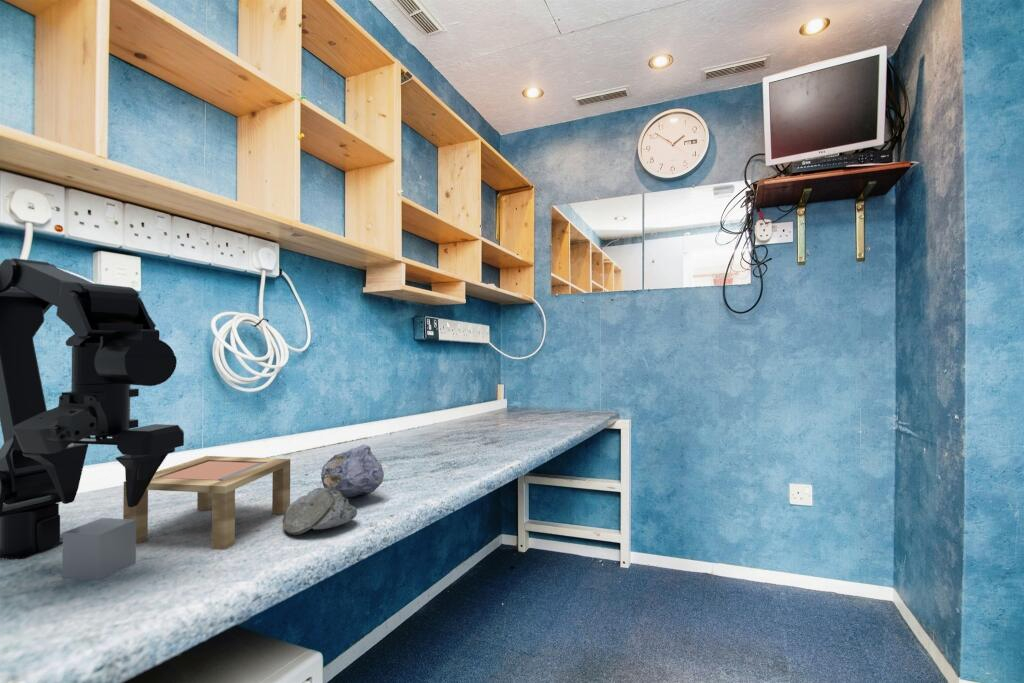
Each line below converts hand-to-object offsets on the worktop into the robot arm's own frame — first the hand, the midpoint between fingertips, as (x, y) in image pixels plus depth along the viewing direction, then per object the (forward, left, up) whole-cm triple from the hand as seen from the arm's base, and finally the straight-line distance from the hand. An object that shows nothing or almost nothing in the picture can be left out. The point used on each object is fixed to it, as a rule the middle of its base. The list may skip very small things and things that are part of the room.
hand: (100, 504), depth 61 cm
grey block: (0, 0, -9) cm, 9 cm away
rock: (+19, +30, -9) cm, 37 cm away
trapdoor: (+8, +16, 0) cm, 18 cm away
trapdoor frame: (+3, +16, -9) cm, 18 cm away
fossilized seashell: (+16, +19, -11) cm, 27 cm away
